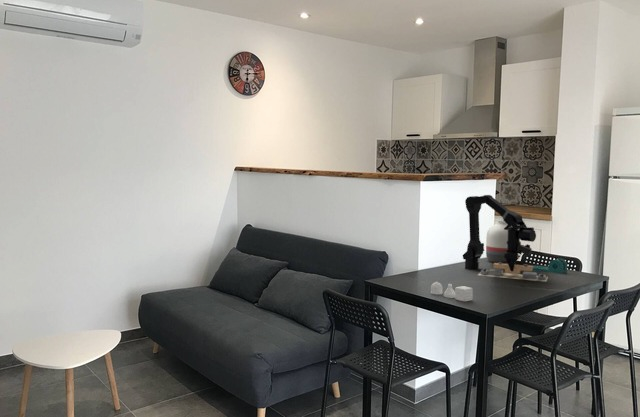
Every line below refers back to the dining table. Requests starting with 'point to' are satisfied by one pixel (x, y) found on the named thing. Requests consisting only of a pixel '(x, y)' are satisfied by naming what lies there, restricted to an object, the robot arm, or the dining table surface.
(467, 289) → the container set
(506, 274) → the board
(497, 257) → the vase
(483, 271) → the lower chain end
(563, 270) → the teal handled piece
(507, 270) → the master link
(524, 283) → the dining table surface
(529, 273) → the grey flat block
